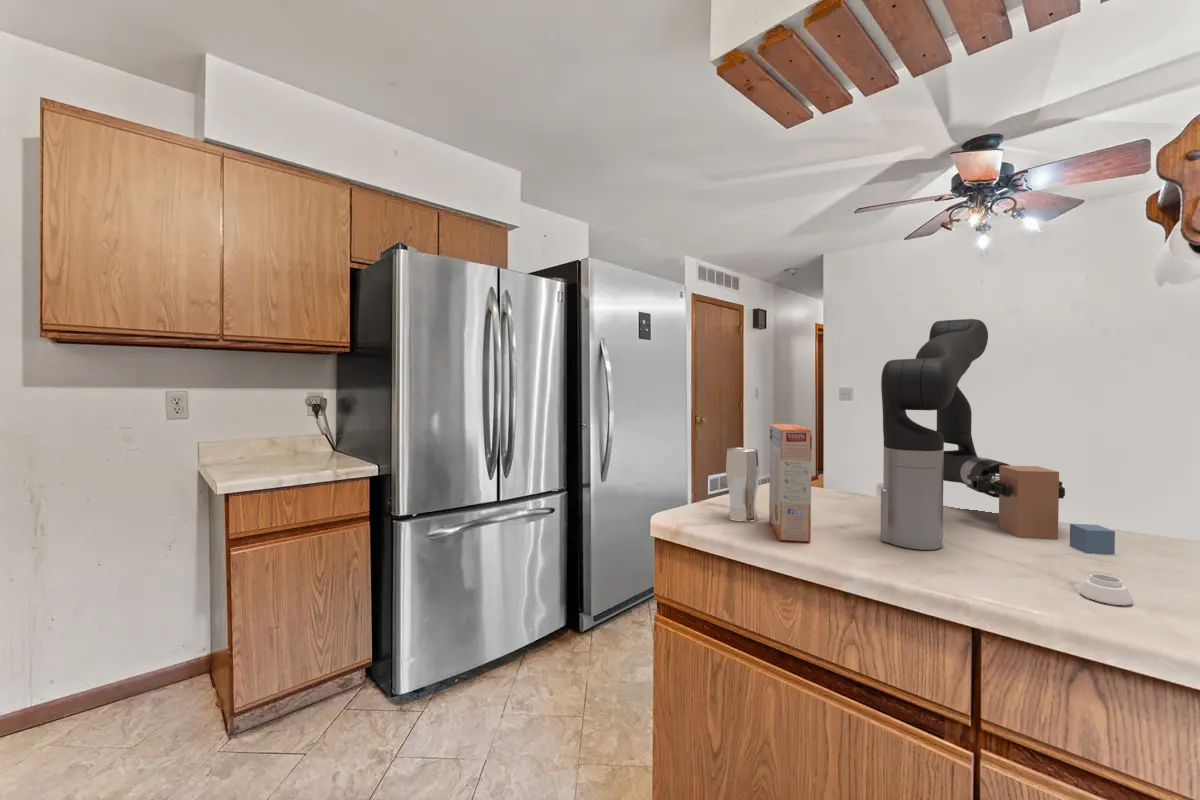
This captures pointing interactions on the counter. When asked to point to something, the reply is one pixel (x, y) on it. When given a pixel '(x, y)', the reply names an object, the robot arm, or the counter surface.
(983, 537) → the counter surface
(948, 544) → the counter surface
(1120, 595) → the lidless jar
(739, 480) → the beer glass
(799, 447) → the cracker box
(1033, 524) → the brown rectangular block
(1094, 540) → the blue rectangular block
